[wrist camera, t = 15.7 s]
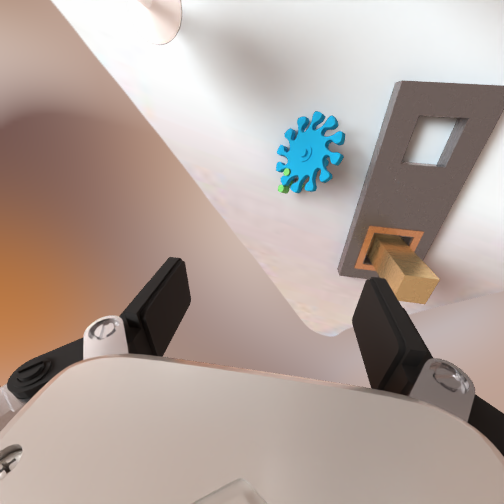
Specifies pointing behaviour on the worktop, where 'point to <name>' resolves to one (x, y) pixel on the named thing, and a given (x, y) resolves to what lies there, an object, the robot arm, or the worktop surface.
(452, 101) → the rail plate
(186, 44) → the worktop surface
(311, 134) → the gear
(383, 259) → the peg
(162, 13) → the champagne flute
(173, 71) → the worktop surface
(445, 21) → the worktop surface
